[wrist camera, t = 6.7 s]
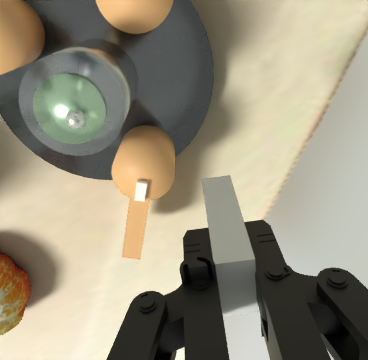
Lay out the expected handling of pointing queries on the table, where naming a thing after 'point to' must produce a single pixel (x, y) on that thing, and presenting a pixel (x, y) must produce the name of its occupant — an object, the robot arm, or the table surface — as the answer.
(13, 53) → the knob
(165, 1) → the knob
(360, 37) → the table surface
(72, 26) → the base
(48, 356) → the table surface
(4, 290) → the fruit
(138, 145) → the knob
